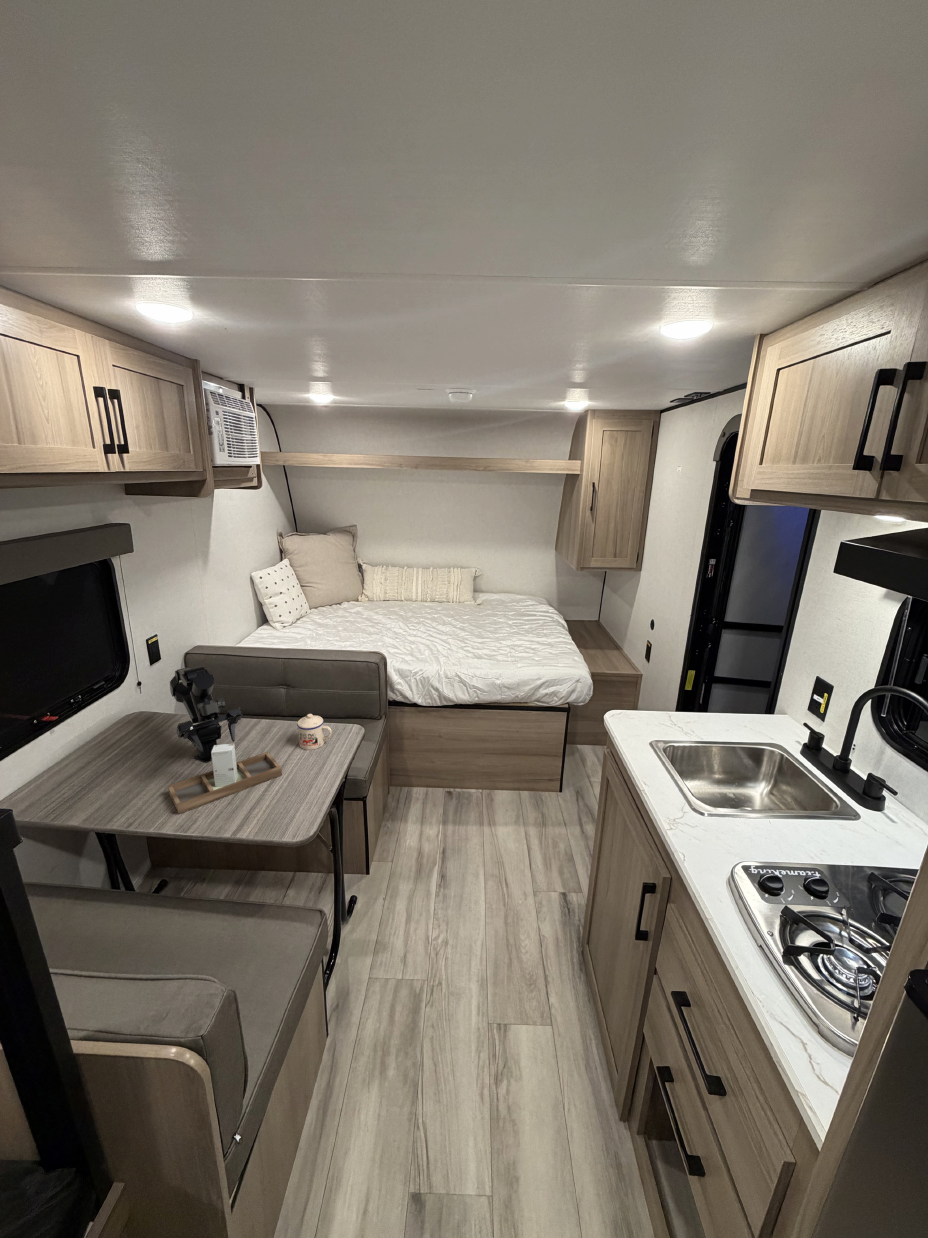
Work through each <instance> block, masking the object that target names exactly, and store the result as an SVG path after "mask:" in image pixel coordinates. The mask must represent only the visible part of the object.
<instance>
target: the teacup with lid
mask: <svg viewBox="0 0 928 1238" xmlns="http://www.w3.org/2000/svg"><path fill="white" fill-rule="evenodd" d="M324 722H325V721H324V718H323V717H321V716H320V715H315V714H314V715H313V714H312V713H308V714H306V716H303V717H301V718H300V719H299V720H298V721H297V724H296V726H297V730H298V743H299V746H300V747H299V748H300V749H303V750H306V751H312V750H316V749H319V748H321V747H323V745H325V741H326V740H329V738H330V737H332V734H333V731H332V730H333V729H331V727H330V726H328V725H324ZM325 730H327V731H328V732H329V733H328V735H327V736H325Z"/></svg>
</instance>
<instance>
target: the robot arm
mask: <svg viewBox="0 0 928 1238" xmlns="http://www.w3.org/2000/svg"><path fill="white" fill-rule="evenodd" d="M214 685H215V678H214V677H213V674H212V673H211V672H210V671H209V670H208V669H207V668H206V667H205V666H203V665H202V666H201V665H200V666H197V667H193V668H192V667H184V668H179V669H176V670H174V676H173V677H172V679H171V680H170V681H169V690H170V694H171V697H173V699H174V700H175V701H176V702H178V703H182V704H183V706H184V707H185V710H186V712H187V713H188V715H189V718H190V719H191V720H187V721H184V722H179V723H178V724H177V726H176V736H177V738H178V739H181V738H183V740H187V739H188V741H190V742H191V744H192V745H193V747H194V748H195V747H196V752H197V754H196V755H195V756H194V757H193V759H195V760H198V761H201V762H203V763H209V762H212V756H211V752H212V749H213V747H214V745H218V742H217V740H220V739H222V725H221V724H220V723H222V722H224V721H227V722H228V723H227V728H228V731H229V735H230V738H231V741H232V743H235V740H236V739H235V738H236V737H235V736H236V725H237V724H238V722H239V721H241V720H242V717H243V715H244V713H243V709H242V708H241V707H239V706H237V707H235V708H231V709H227V711H226V714H222V715H220V714H221V709H224V708H226V706H227V705H226V701H225V697H221V698H216V701H215V700H214V697H213V695H212V692H213V689H214Z"/></svg>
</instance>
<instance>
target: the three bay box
mask: <svg viewBox="0 0 928 1238" xmlns="http://www.w3.org/2000/svg"><path fill="white" fill-rule="evenodd" d="M236 765H237V774H238V777H237V780H236V782H235V783H232V784H229V785H227V786H215V781H214V773H213V770H211V771H207V772H205V773H201V774H199V775H196V776H193V777H190V778H187V779H185V780H182V781H179V782H176V783H172V784H170V785H167V789H168V795H169V796H170V798H171V801H172V803H173V805H174V808H175V809H176V811H177V814H178V815H182V814H184V813H187V812H189V811H192V810H195V809H197V808H201V807H202V806H205V805H208V804H210V803H211V804H212V803H214V802H215V801H218V800H221V799H225V798H226V797H229V796H231V795H234V794H238V793H239V792H241V791H244V790H247V789H250V788H253V787H255V786H257V785H260V784H262V783H265V782H268V781H271V780H274V779H276V778H279V777H281V776H283V771H282V766H281V765H280V764H279V763H278V761H276V759H274V757H273V756H272V755H271V753H269V751H265V752H263V753H260V754H257V755H254V756H250V757H247V758H245V759H242V760H239V761H236Z"/></svg>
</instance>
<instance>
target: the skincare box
mask: <svg viewBox="0 0 928 1238" xmlns="http://www.w3.org/2000/svg"><path fill="white" fill-rule="evenodd" d="M235 748H236V746H235V743H222V744H217V745H214V747H213V749H212V752H211V756H212V760H211V762H212V771H213V773H214V781H215V786H227V785H229V784H232V783H235V782H236V780H237V777H238V774H237V765H236V762H237V757H236V749H235Z"/></svg>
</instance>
